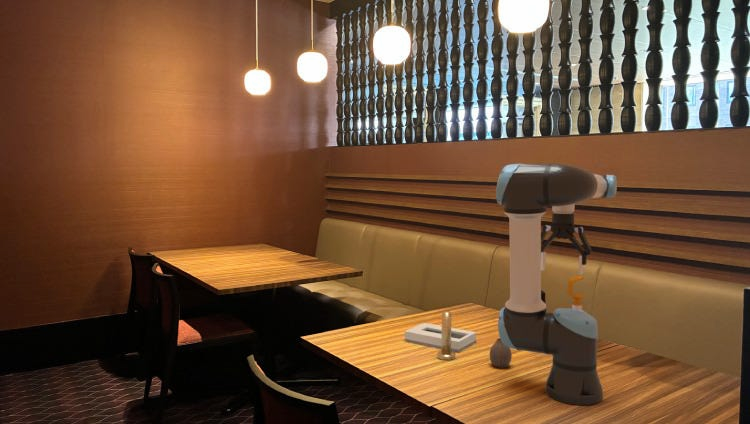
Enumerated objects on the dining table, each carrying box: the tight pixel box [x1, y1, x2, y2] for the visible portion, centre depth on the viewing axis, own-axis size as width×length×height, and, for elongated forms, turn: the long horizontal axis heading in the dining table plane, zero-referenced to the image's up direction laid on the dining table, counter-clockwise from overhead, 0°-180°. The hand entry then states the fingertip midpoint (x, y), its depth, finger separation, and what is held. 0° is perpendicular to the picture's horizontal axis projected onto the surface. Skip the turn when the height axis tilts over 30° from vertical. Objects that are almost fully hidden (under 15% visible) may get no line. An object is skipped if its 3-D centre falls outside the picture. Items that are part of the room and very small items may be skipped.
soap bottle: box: [567, 275, 587, 313], centre depth 203 cm, size 9×9×25 cm
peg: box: [436, 310, 456, 361], centre depth 188 cm, size 6×6×16 cm
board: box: [404, 322, 477, 353], centre depth 206 cm, size 14×22×4 cm, turn 54°
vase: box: [489, 337, 513, 369], centre depth 181 cm, size 7×7×9 cm
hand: (561, 272), depth 201 cm, fingers open, 13 cm apart
